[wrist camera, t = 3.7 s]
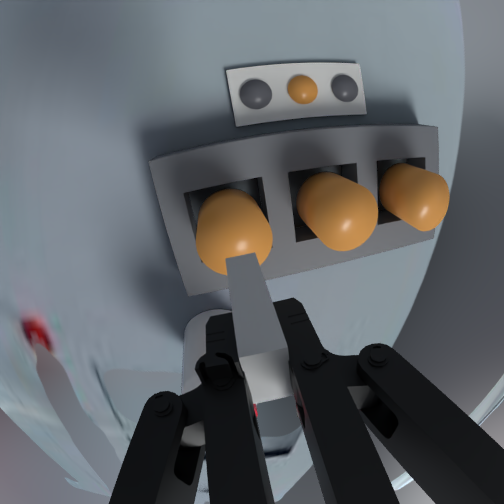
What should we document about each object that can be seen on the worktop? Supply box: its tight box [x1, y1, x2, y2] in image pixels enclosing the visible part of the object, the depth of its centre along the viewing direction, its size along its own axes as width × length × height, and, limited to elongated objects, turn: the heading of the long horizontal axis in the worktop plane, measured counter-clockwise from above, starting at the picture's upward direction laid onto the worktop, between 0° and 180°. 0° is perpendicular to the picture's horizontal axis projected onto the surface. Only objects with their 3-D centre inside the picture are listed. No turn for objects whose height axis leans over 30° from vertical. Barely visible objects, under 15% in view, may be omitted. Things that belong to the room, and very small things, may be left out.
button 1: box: [379, 163, 449, 231], centre depth 21 cm, size 5×5×4 cm
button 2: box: [196, 189, 273, 275], centre depth 20 cm, size 5×5×4 cm
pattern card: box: [226, 63, 367, 127], centre depth 20 cm, size 12×5×1 cm, turn 99°
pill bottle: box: [181, 309, 258, 416], centre depth 25 cm, size 8×8×11 cm
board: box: [148, 124, 439, 297], centre depth 23 cm, size 26×12×3 cm, turn 99°
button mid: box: [296, 172, 378, 251], centre depth 20 cm, size 5×5×4 cm
